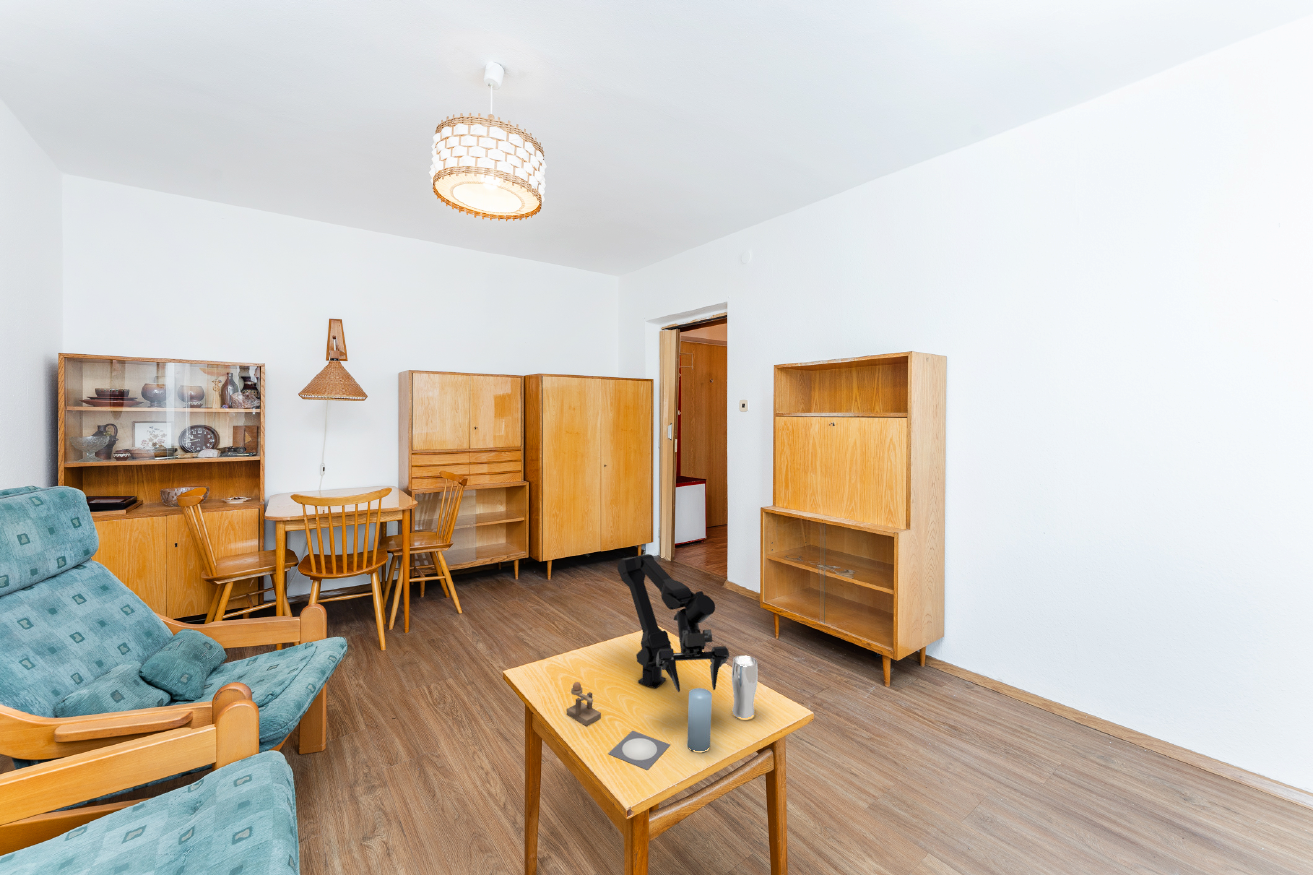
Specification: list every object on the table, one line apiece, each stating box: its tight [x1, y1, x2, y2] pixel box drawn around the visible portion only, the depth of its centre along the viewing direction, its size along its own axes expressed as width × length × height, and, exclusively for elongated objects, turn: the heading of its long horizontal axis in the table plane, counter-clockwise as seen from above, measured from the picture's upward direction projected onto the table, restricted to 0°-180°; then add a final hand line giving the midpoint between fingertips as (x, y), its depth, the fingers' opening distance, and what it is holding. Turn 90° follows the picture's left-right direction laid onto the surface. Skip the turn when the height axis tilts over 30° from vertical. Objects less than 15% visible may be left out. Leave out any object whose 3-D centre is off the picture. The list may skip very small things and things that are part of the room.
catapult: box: [566, 681, 602, 727], centre depth 143 cm, size 8×5×8 cm, turn 49°
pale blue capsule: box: [686, 687, 713, 751], centre depth 131 cm, size 6×6×13 cm
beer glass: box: [731, 655, 759, 718], centre depth 145 cm, size 7×7×15 cm
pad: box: [607, 730, 671, 771], centre depth 129 cm, size 11×11×1 cm
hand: (696, 690), depth 135 cm, fingers open, 9 cm apart
